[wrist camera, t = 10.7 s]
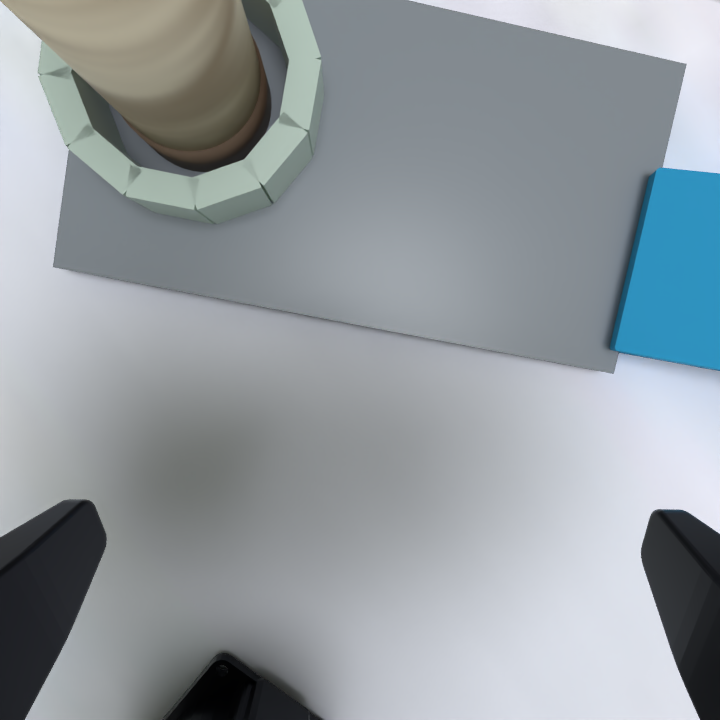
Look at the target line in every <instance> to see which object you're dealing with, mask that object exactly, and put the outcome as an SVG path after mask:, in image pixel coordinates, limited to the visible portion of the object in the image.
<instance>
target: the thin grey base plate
mask: <svg viewBox="0 0 720 720" xmlns="http://www.w3.org/2000/svg"><path fill="white" fill-rule="evenodd" d="M241 1H242V5H243V8H244V11H245V15H246V18H247V22H248V25H249V28H250V32H251V34H252V36H253V38H254V40H255V42H256V44H257V47H258V49H259V52H260V55H261V59H262V62H263V66H264V69H265V73H266V77H267V80H268V84H269V87H270V92H271V104H272V108H271V117H270V121H269V126H268V128H267V131H266V134H265V135H264V136H263V137H262V139H261V140H260V141H259V142H258V143H257V145H256V146H255V147H254V148H253V149H252V151H251V152H250V153H249V154H248V155H247V157H246V158H245V159H244V160H241V161H238V162H235V163H232V164H230V165H227V166H224V167H221V168H218V169H215V170H212V171H209V172H197V171H191V170H188V169H184V168H181V167H179V166H177V165H174V164H173V163H171V162H169V161H167V160H166V159H165V158H163V157H162V156H161V155H159V154H158V153H157V152H156V151H155V150H154V149H153V148H152V147H151V146H150V145H149V144H147V143H146V142H145V141H144V140H143V139H142V138H141V137H140V136H139V135H138V134H137V133H136V132H135V131H134V130H133V129H132V128H130V126H129V125H128V124H127V123H126V121H125V120H124V119H123V117H122V116H121V114H120V113H119V112H118V111H117V110H116V109H114V108H113V107H112V106H111V105H110V104H109V103H108V102H107V101H106V100H105V99H104V98H103V97H102V96H101V95H100V94H99V93H98V92H96V91H95V90H94V89H93V88H92V87H91V86H90V85H89V84H88V83H87V82H86V81H85V80H84V79H83V78H82V77H81V76H79V75H78V74H77V73H76V72H75V71H74V70H73V69H72V68H71V67H70V66H69V65H68V64H67V63H66V62H65V61H64V60H62V59H61V58H60V57H59V56H58V55H57V54H56V53H55V52H54V51H53V50H52V49H51V48H50V47H49V46H48V45H47V44H45V43H44V42H43V41H42V43H41V51H40V59H39V67H38V73H39V74H40V76H38V77H39V80H40V82H41V85H42V87H43V90H44V92H45V95H46V97H47V100H48V102H49V105H50V107H51V110H52V112H53V115H54V118H55V120H56V123H57V125H58V128H59V130H60V133H61V135H62V138H63V140H64V143H65V145H66V146H68V149H69V153H68V160H67V167H66V175H65V182H64V190H63V197H62V204H61V212H60V219H59V226H58V234H57V241H56V248H55V256H54V263H53V267H55V268H60V269H66V270H71V271H76V272H81V273H87V274H92V275H97V276H102V277H108V278H113V279H118V280H123V281H129V282H134V283H139V284H144V285H150V286H155V287H160V288H166V289H171V290H176V291H181V292H187V293H192V294H197V295H202V296H208V297H213V298H218V299H223V300H229V301H234V302H239V303H244V304H250V305H255V306H260V307H265V308H271V309H276V310H281V311H286V312H292V313H297V314H302V315H307V316H313V317H318V318H323V319H328V320H334V321H339V322H344V323H349V324H355V325H360V326H365V327H370V328H376V329H381V330H386V331H391V332H397V333H402V334H407V335H412V336H418V337H423V338H428V339H433V340H439V341H444V342H449V343H455V344H460V345H465V346H470V347H476V348H481V349H486V350H491V351H497V352H502V353H507V354H512V355H518V356H523V357H528V358H533V359H539V360H544V361H549V362H554V363H560V364H565V365H570V366H575V367H581V368H586V369H591V370H596V371H602V372H607V373H612V374H614V371H615V366H616V362H617V358H618V354H619V352H618V351H613V350H610V348H609V347H610V343H611V339H612V334H613V330H614V326H615V321H616V317H617V313H618V308H619V304H620V300H621V295H622V291H623V287H624V282H625V278H626V274H627V269H628V265H629V261H630V257H631V252H632V248H633V244H634V239H635V235H636V231H637V226H638V222H639V218H640V213H641V209H642V205H643V200H644V196H645V192H646V187H647V183H648V179H649V176H650V175H652V174H653V173H654V172H655V171H656V170H657V169H658V168H662V166H663V162H664V158H665V154H666V149H667V145H668V141H669V137H670V132H671V128H672V124H673V120H674V115H675V111H676V107H677V103H678V98H679V94H680V90H681V86H682V81H683V77H684V73H685V69H686V64H684V63H679V62H675V61H671V60H666V59H662V58H658V57H653V56H649V55H645V54H640V53H636V52H631V51H627V50H623V49H618V48H614V47H610V46H605V45H601V44H596V43H592V42H588V41H583V40H579V39H575V38H570V37H566V36H561V35H557V34H553V33H548V32H544V31H540V30H535V29H531V28H527V27H522V26H518V25H513V24H509V23H505V22H500V21H496V20H492V19H487V18H483V17H478V16H474V15H470V14H465V13H461V12H457V11H452V10H448V9H443V8H439V7H435V6H430V5H426V4H422V3H417V2H413V1H409V0H241Z"/></svg>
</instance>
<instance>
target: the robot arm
mask: <svg viewBox="0 0 720 720" xmlns="http://www.w3.org/2000/svg"><path fill="white" fill-rule="evenodd" d="M106 541H107V537H106V532H105V530H104V527H103V525H102V522H101V520H100V517H99V515H98V512H97V510H96V507H95V505H94V504H93V503H92V502H91V501H89V500H76V499H69V500H64V501H62V502H60V503H58V504H57V505H55V506H53V507H52V508H50V509H48V510H46V511H45V512H43V513H41V514H40V515H38V516H36V517H34V518H33V519H31V520H29V521H28V522H26V523H24V524H22V525H21V526H19V527H17V528H16V529H14V530H12V531H10V532H9V533H7V534H5V535H4V536H2V537H0V720H25V718H26V716H27V714H28V712H29V711H30V709H31V707H32V705H33V703H34V701H35V699H36V697H37V695H38V694H39V692H40V690H41V688H42V686H43V684H44V682H45V680H46V678H47V677H48V675H49V673H50V671H51V669H52V667H53V665H54V663H55V661H56V660H57V658H58V656H59V654H60V652H61V650H62V648H63V646H64V644H65V642H66V640H67V638H68V635H69V633H70V631H71V629H72V627H73V624H74V622H75V620H76V617H77V615H78V613H79V610H80V608H81V605H82V603H83V601H84V598H85V596H86V593H87V591H88V589H89V586H90V584H91V582H92V579H93V577H94V574H95V572H96V570H97V567H98V565H99V563H100V560H101V558H102V555H103V553H104V550H105V547H106ZM641 558H642V563H643V567H644V570H645V573H646V576H647V579H648V582H649V585H650V588H651V591H652V594H653V597H654V600H655V603H656V606H657V609H658V612H659V615H660V618H661V621H662V624H663V627H664V630H665V633H666V636H667V639H668V642H669V645H670V648H671V651H672V654H673V657H674V659H675V662H676V665H677V668H678V670H679V673H680V675H681V677H682V680H683V682H684V685H685V687H686V689H687V692H688V694H689V696H690V698H691V701H692V703H693V705H694V707H695V709H696V712H697V714H698V716H699V718H700V720H720V534H719V533H718V532H716V531H715V530H713V529H712V528H710V527H709V526H707V525H706V524H704V523H703V522H701V521H700V520H699V519H697V518H696V517H694V516H693V515H691V514H690V513H688V512H686V511H683V510H668V509H658V510H655V511H653V513H652V514H651V516H650V519H649V522H648V526H647V529H646V533H645V536H644V540H643V543H642V548H641ZM219 665H224V666H226V667H227V669H225V670H223V669H220V668H219ZM163 720H319V719H318V718H317V717H315V716H314V715H312V714H311V713H310V712H309V711H308V710H307V709H306V708H304V707H303V706H302V705H300V704H299V703H298V702H296V701H295V700H293V699H292V698H291V697H289V696H288V695H287V694H285V693H284V692H282V691H281V690H280V689H278V688H277V687H276V686H274V685H273V684H271V683H270V682H269V681H267V680H266V679H263V678H262V677H260V676H259V675H257V674H256V673H255V672H253V671H252V670H251V669H249V668H248V667H246V666H245V665H244V664H242V663H241V662H240V661H238V660H237V659H235V658H234V657H233V656H231V655H229V654H227V653H222V654H218V655H217V656H216V657H215V658H214V659H213V660H212V661H211V662H210V664H209V665H208V666H207V667H206V668H205V670H204V671H203V672H202V673H201V674H200V676H199V677H198V678H197V679H196V680H195V682H194V683H193V684H192V685H191V686H190V688H189V689H188V690H187V691H186V692H185V693H184V695H183V696H182V697H181V698H180V699H179V701H178V702H177V703H176V704H175V705H174V707H173V708H172V709H171V710H170V711H169V713H168V714H167V715H166V716H165V717H164V719H163Z"/></svg>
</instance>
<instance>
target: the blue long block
mask: <svg viewBox="0 0 720 720" xmlns="http://www.w3.org/2000/svg"><path fill="white" fill-rule="evenodd" d="M609 348H610V350H613V351H618V352H619V353H624V354H630V355H635V356H641V357H646V358H652V359H657V360H663V361H668V362H674V363H679V364H685V365H690V366H696V367H701V368H707V369H712V370H718V371H720V174H718V173H708V172H698V171H689V170H679V169H669V168H658V169H657V170H656V171H655V172H654V173H653V174H652V175H650V176H649V179H648V183H647V187H646V192H645V196H644V200H643V205H642V209H641V213H640V218H639V222H638V226H637V231H636V235H635V239H634V244H633V248H632V252H631V257H630V261H629V265H628V269H627V274H626V278H625V282H624V287H623V291H622V295H621V300H620V304H619V308H618V313H617V317H616V321H615V326H614V330H613V334H612V339H611V343H610V347H609Z"/></svg>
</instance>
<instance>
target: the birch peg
mask: <svg viewBox="0 0 720 720" xmlns="http://www.w3.org/2000/svg"><path fill="white" fill-rule="evenodd" d="M0 1H1V2H2V3H3V4H4V5H5V6H6V7H7V8H8V9H9V10H10V11H12V12H13V13H14V14H15V15H16V16H17V17H18V18H19V19H20V20H21V21H22V22H23V23H24V24H25V25H26V26H27V27H29V28H30V29H31V30H32V31H33V32H34V33H35V34H36V35H37V36H38V37H39V38H40V39H41V40H42V41H43V42H44V43H45V44H47V45H48V46H49V47H50V48H51V49H52V50H53V51H54V52H55V53H56V54H57V55H58V56H59V57H60V58H61V59H62V60H64V61H65V62H66V63H67V64H68V65H69V66H70V67H71V68H72V69H73V70H74V71H75V72H76V73H77V74H78V75H79V76H81V77H82V78H83V79H84V80H85V81H86V82H87V83H88V84H89V85H90V86H91V87H92V88H93V89H94V90H95V91H96V92H98V93H99V94H100V95H101V96H102V97H103V98H104V99H105V100H106V101H107V102H108V103H109V104H110V105H111V106H112V107H113V108H114V109H116V110H117V111H118V112H119V113H120V114H121V116H122V117H123V119H124V120H125V121H126V123H127V124H128V125H129V126H130V128H132V129H133V130H134V131H135V132H136V133H137V134H138V135H139V136H140V137H141V138H142V139H143V140H144V141H145V142H146V143H147V144H149V145H150V146H151V147H152V148H153V149H154V150H155V151H156V152H157V153H158V154H159V155H161V156H162V157H163V158H165V159H166V160H167V161H169V162H171V163H173V164H174V165H177V166H179V167H181V168H184V169H188V170H191V171H197V172H209V171H212V170H215V169H218V168H221V167H224V166H227V165H230V164H232V163H235V162H238V161H241V160H244V159H245V158H246V157H247V155H248V154H249V153H250V152H251V151H252V149H253V148H254V147H255V146H256V145H257V143H258V142H259V141H260V140H261V139H262V137H263V136H264V135H265V134H266V131H267V128H268V126H269V121H270V117H271V108H272V104H271V92H270V87H269V84H268V80H267V77H266V73H265V69H264V66H263V62H262V59H261V55H260V52H259V49H258V47H257V44H256V42H255V40H254V38H253V36H252V34H251V32H250V28H249V25H248V22H247V18H246V15H245V11H244V8H243V5H242V1H241V0H0Z"/></svg>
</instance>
